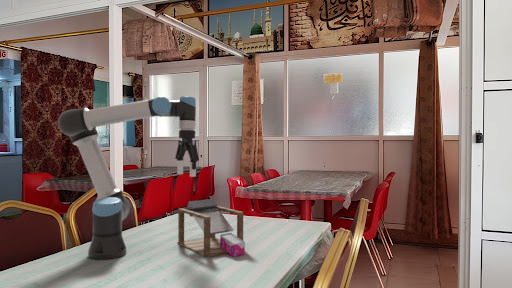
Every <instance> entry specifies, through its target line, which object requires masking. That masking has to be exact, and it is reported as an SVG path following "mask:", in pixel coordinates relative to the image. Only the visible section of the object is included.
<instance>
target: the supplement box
mask: <svg viewBox="0 0 512 288" xmlns="http://www.w3.org/2000/svg"><path fill="white" fill-rule="evenodd" d="M219 239H220V247H221V248H222V249H223V250H225V251H226V252H228V254H229V255H231V256H232V257H237V256H243V255H245V250H246V249H245V248H246V241H244V239H243V240H241V239H240V238H238V237H237V235H235V234H233V233H232V232H227V233H221V234H220V236H219ZM244 249H245V250H244Z"/></svg>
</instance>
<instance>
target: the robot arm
mask: <svg viewBox="0 0 512 288" xmlns="http://www.w3.org/2000/svg"><path fill="white" fill-rule="evenodd" d="M196 102H197V101H196V98H195V97H194V96H188V95H187V96H180V97H179V99H178V100H170V99H169V98H167V97H166V96H157V97H156V98H151V99H150V98H149V99H144V100H138V101H133V102H128V103H123V104H115V105H110V106H104V107H99V108H98V107H97V108H94V109H88V107H83V108H78V109H77V108H76V109H67V110H65V111H63V112H61V113H60V115H59V117H58V119H57V126H58V129H59V131H60V132H61V133H62V134H64V135H65V136H68V137H69V138H70V141H71V143H72V145H74V146H76V147H77V148H78V150H79V153H80V155H81V158H82V160H83V163H84V165H85V168H86V170H87V173H88V174H89V177H90V180H91V182H92V184H93V187H94V189H95V191H96V193H97V197H96V199H95V200H94V202H93V204H92V208H91V209H92V210H91V211H92V238H91V242H90V244H89V246H88V247H89V248H88V251H87V257H88V259H93V260H111V259H116V258H121V257H122V256H125V255H126V254H127V246H126V243H125V240H124V238H123V231H122V230H123V221H125V220H126V219H127V218H128V216H129V214H130V211H131V205H130V201H129V200H128V198H126V197H125V194H124V193H123V191H122V189H120V188H118V187H117V185H116V183H115V180H114V178H113V176H112V174H111V171H110V169H109V166H108V164H107V161H106V159H105V157H104V154H103V151H102V149H101V147H100V143H99V142H98V138H99V136H100V135H99V133H98V130H97V128H99V127H103V126H109V125H114V124H119V123H125V122H131V121H136V120H143V119H147V118H153V117H161V118H162V117H164V118H166V117H167V118H168V117H170V118H171V117H172V118H174V117H175V118H178V119H179V120H178V129H179V131H178V138H179V139H178V142H177V149H176V152H175V157H174V158H175V160H176V161H177V164H176V166H177V168H176V169H177V170H176V175H183V174H184V157H185V155H186V152H187V154H188V156H189V159H190V161H189V177H193V178H194V177H197V162H199V161H200V159H199V158H200V157H199V153H198V149H197V140H193V139H196V130H195V129H196V126H197V123H196V118H197V117H196V114H197V106H196V105H197V103H196Z"/></svg>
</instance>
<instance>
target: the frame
mask: <svg viewBox="0 0 512 288" xmlns="http://www.w3.org/2000/svg"><path fill="white" fill-rule="evenodd" d="M216 210H220V212H221V211H222V212H226V213H229V214H233V215H236V236H237V237H238V238H240V239H241V240H243V241H244V211H241V210H240V211H239V210H236V209H234V208H233V209H231V208H228V207H224V206H220V205H218V206H217V209H216ZM177 211H178V212H177V213H178V215H177V216H178V218H177V219H178V226H177V228H178V230H177V231H178V232H177V233H178V234H177V235H178V238H177V239H178V240H177V241H178V242H177V243H176V244H177V245H179V246H181V247H183V248H185V249H188V250H189V251H191V252H194V253H196V254H199V255H201V256H202V257H204V258H213V257H218V256H222V255H227V254H229V253H228V252H226V251H225V250H223V249H222V248H221V247H220V238H219V237H218V238H217V237H216V234H212V235H210V216H207V215H204V214H200V213H197V212H193V211H190V210H187V208H180V207H179V208H178V210H177ZM185 214H187V215H189V216H190V215H192V216H195V217H198V218H202V219H204V232H203V237H201V238H195V239H189V240H188V239H187V240H185ZM245 250H246V249H244V251H245Z"/></svg>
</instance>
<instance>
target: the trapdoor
mask: <svg viewBox="0 0 512 288" xmlns="http://www.w3.org/2000/svg"><path fill="white" fill-rule="evenodd" d="M217 206H219V204H217V202H216V200H214V198H210V199H201V200H200V199H199V200H190V201H188V203H187V207H186V209H187V210H190V211H193V212H197V213H200V214H204V215H207V216H210V235H212V234H215V235H217V234H225V233H231V232H234V227H233V226H231V223H229V222H228V220H227V219H226V217H224V215H223V214H222V212H221V210H217ZM189 216H190V218H191V217H192V218H193V219H194V220H195V222H196V223H197V224H198V226H199V228H200V229H201V230H202V232H203V233H204V219H202V218H198V217H195V216H192V215H189Z"/></svg>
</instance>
